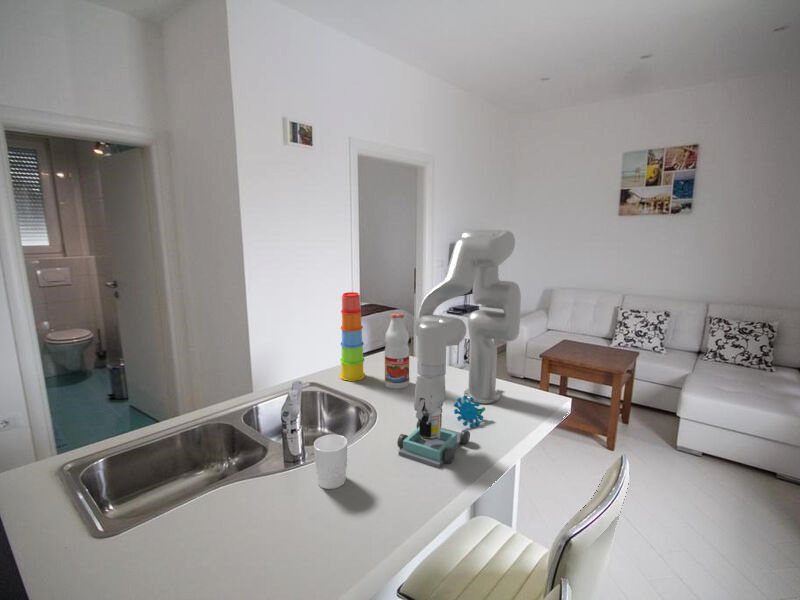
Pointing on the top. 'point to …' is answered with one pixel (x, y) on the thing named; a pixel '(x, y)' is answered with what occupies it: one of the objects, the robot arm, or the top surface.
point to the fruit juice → (396, 353)
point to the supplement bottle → (434, 425)
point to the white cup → (331, 460)
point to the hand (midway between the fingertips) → (430, 430)
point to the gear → (468, 411)
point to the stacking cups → (351, 338)
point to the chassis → (432, 446)
